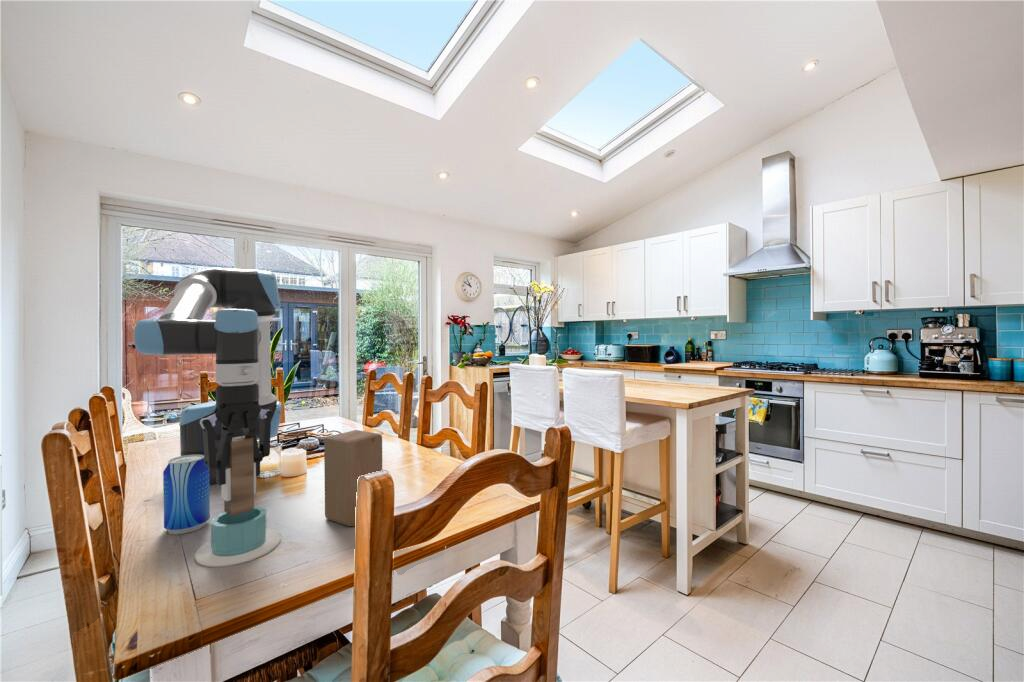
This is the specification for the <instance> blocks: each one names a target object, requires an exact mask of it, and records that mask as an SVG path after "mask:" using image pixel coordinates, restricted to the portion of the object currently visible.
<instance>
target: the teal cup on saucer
mask: <svg viewBox="0 0 1024 682" xmlns="http://www.w3.org/2000/svg"><path fill="white" fill-rule="evenodd" d="M280 543H281V534H280V532H279V531H277V530H276V529H271V528H267V509H265V508H263V507H262V506H254V510H251V511H248V512H245V513H242V514H238V515H235V516H231V515H230V514H228V513H226V512H225V511H224V512H221V513H220V514H217V515H216V516H214V517H213V518H212V519H211V521H210V541H207V542H206V543H204V544H203V545H201V546H200V547H199V548H198V549H197V551H196V552H195V554H194V560H195V562H196V563H197V564H198V565H200V566H203V567H206V568H207V567H208V568H222V567H231V566H236V565H240V564H245V563H247V562H250V561H254V560H257V559H258V558H261V557H262V556H265V555H267V554H269V553H270V552H272V551H273V550H274V549H275V548H277V546H279V544H280Z"/></svg>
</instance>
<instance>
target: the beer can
mask: <svg viewBox="0 0 1024 682" xmlns="http://www.w3.org/2000/svg"><path fill="white" fill-rule="evenodd" d="M162 474H163V475H162V477H163V479H162V480H163V481H162V483H163V489H162V491H163V528H164V529H165V530H166V531H167V532H168V534H171V535H182V534H183V535H184V534H188V533H192V532H195V531H197V530H198V531H199V530H201V529H202V528H204V527H206V525H207V523H208V522H209V520H210V519H211V518H210V517H211V514H210V513H211V508H210V507H211V506H210V502H211V501H210V496H211V495H210V491H211V490H210V485H209V467H207V466H205V463H204V455H185V456H181V455H180V456H176V457H173V458H170V459H169V460H168V462H167V465H166V467H165V468H164V469H163V472H162Z"/></svg>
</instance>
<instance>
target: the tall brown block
mask: <svg viewBox="0 0 1024 682" xmlns="http://www.w3.org/2000/svg"><path fill="white" fill-rule="evenodd" d="M227 467H229V468H231V500H230V501H225V500H224V499H223V501H224V505H223V506H224V512H226V513H228V514H230V515H231V516H235V515H238V514H242V513H245V512H248V511H251V510H254V507H255V494H254V456H253V438H248V437H245V436H240V437H234V438H232V441H230V452H229V457H228V461H227Z"/></svg>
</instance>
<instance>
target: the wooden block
mask: <svg viewBox="0 0 1024 682" xmlns="http://www.w3.org/2000/svg"><path fill="white" fill-rule="evenodd" d="M323 444H324V445H323V447H324V448H323V449H324V451H323V452H324V453H323V454H324V457H323V458H324V460H323V461H324V464H323V465H324V516H325V518H326V520H328V521H332V522H335V523H338V524H341V525H344V526H346V527H348V528H349V527H350V526H352V527H354V526H356V525H355V507H356V492H357V479H358V477H359V476H361V475H365V474H368V473H372V472H376V471H381V470H382V471H383V436H382V434H381V433H377V432H370V431H365V430H358V429H353V430H350V431H347V432H342V433H338V434H333V435H329V436H327V437H325V438H324V443H323Z"/></svg>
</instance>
